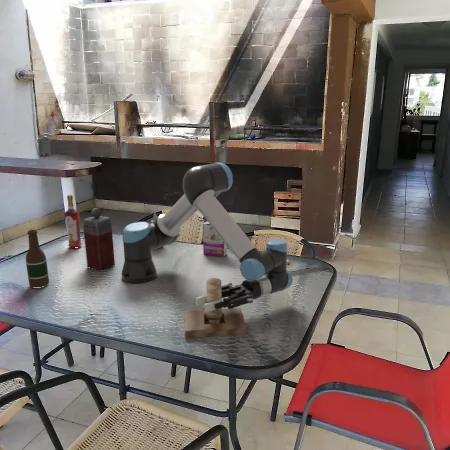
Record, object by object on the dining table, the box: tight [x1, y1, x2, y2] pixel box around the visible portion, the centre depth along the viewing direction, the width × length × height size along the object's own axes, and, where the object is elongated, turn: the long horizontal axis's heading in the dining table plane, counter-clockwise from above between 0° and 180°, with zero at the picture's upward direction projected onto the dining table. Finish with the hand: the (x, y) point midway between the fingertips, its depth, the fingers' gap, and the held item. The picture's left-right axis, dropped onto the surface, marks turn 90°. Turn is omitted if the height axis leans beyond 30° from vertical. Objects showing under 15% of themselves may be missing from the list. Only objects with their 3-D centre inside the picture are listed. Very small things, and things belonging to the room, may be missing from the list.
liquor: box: [63, 194, 83, 249], centre depth 225 cm, size 7×7×28 cm
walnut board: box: [184, 307, 247, 338], centre depth 148 cm, size 20×14×2 cm
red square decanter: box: [82, 207, 116, 272], centre depth 198 cm, size 9×11×28 cm
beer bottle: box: [25, 229, 50, 288], centre depth 178 cm, size 8×8×24 cm
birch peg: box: [205, 277, 223, 324], centre depth 146 cm, size 5×5×16 cm
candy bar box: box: [202, 220, 228, 258], centre depth 214 cm, size 11×5×16 cm, turn 69°
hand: (200, 305), depth 142 cm, fingers closed on birch peg, 5 cm apart
